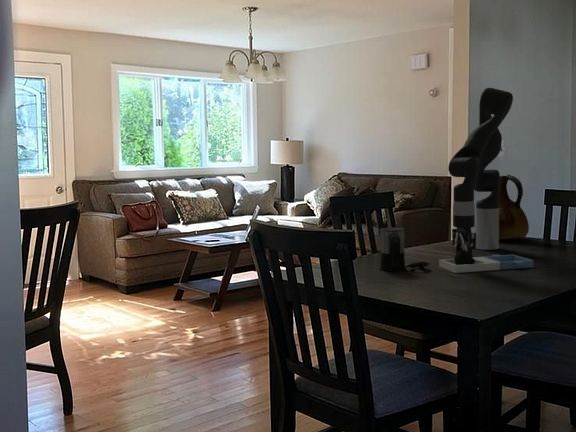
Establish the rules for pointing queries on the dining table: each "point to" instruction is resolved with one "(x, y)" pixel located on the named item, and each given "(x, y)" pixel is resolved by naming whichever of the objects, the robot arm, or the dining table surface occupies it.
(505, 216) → the ceramic pitcher
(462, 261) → the light bulb
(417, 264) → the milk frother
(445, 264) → the two-tone divided frame
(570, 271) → the dining table surface
